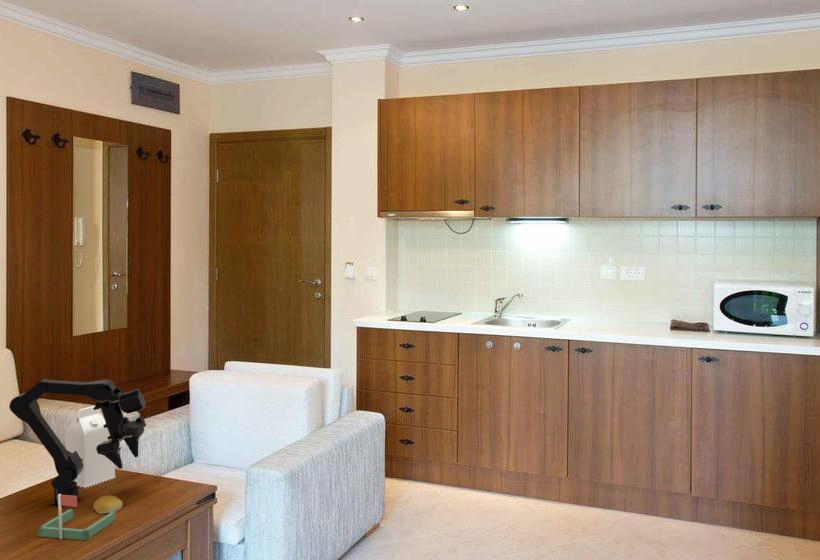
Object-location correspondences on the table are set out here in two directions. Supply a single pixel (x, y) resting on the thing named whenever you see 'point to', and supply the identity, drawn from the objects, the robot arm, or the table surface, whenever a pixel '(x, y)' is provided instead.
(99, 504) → the bread roll
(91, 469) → the milk
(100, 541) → the table surface
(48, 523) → the mini golf green
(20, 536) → the table surface
